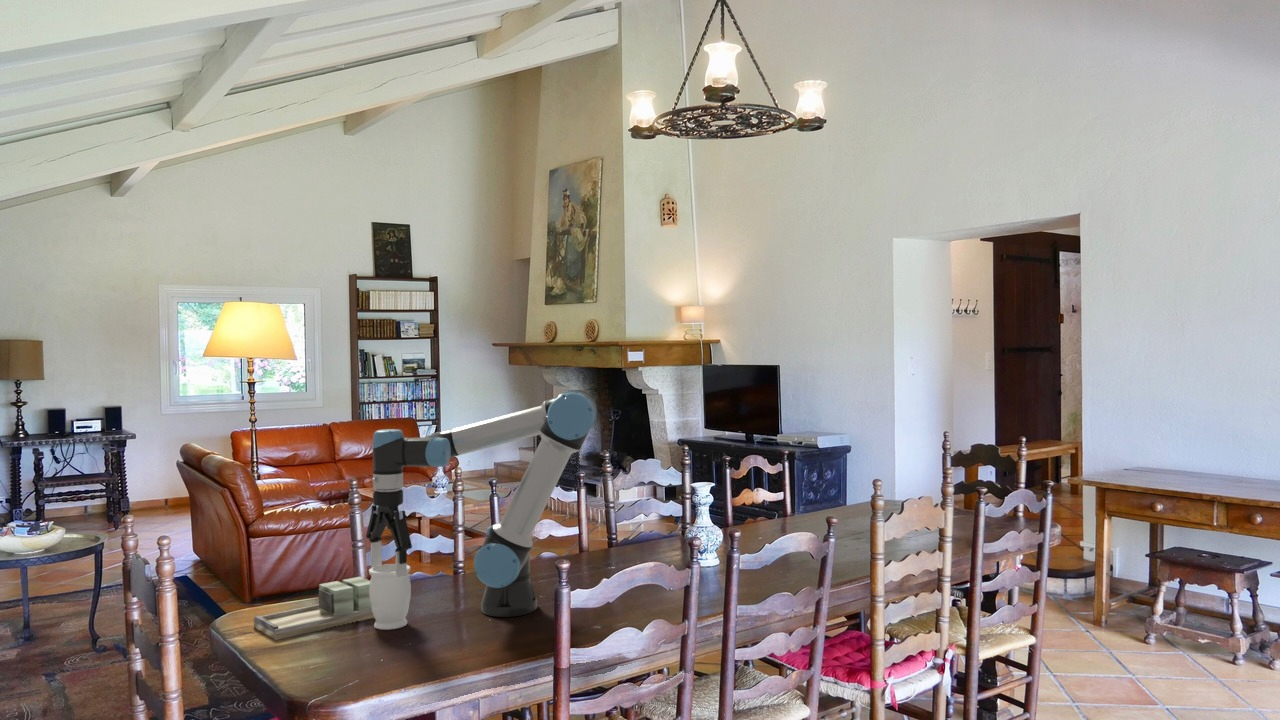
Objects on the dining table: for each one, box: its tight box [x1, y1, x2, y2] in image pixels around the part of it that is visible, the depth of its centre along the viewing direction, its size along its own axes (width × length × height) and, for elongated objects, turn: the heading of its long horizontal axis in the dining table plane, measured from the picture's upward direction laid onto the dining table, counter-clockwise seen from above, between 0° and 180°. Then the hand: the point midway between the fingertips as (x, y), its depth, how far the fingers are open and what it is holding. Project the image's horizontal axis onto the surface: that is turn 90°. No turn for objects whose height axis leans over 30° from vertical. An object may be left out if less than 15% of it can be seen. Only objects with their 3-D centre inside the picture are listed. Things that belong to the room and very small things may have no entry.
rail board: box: [253, 576, 375, 641], centre depth 241 cm, size 15×28×8 cm, turn 133°
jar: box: [368, 563, 412, 631], centre depth 236 cm, size 11×10×15 cm
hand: (388, 571), depth 236 cm, fingers open, 13 cm apart
